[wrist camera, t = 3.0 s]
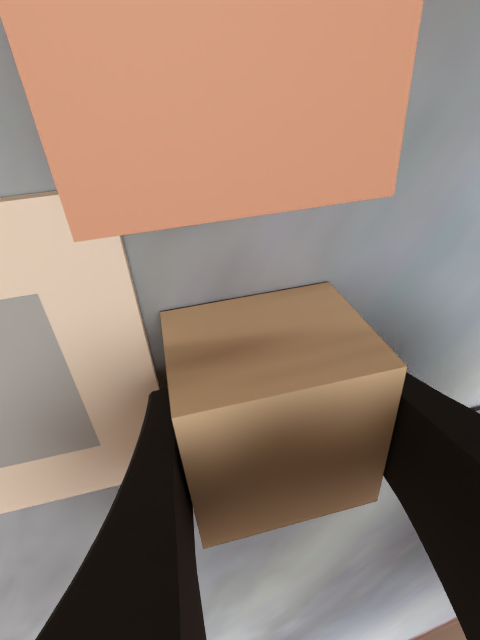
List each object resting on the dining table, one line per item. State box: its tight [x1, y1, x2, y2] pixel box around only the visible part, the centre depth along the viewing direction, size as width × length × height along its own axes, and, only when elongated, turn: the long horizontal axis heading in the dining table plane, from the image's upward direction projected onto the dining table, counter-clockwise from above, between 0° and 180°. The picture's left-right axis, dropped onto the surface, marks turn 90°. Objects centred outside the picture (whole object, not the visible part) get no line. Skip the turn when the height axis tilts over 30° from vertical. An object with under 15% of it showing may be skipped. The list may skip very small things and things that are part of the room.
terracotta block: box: [0, 0, 423, 242], centre depth 6 cm, size 4×4×5 cm
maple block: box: [160, 282, 407, 549], centre depth 11 cm, size 5×5×4 cm
